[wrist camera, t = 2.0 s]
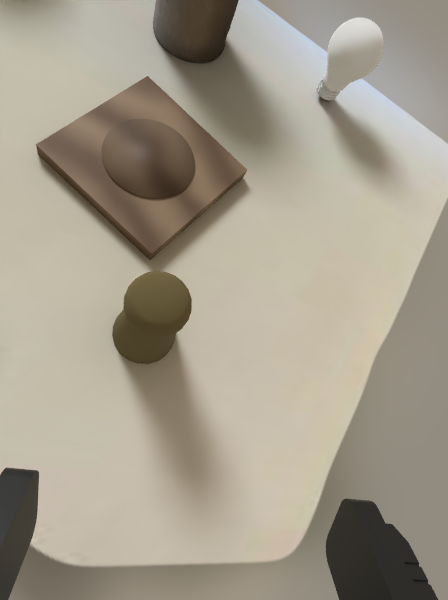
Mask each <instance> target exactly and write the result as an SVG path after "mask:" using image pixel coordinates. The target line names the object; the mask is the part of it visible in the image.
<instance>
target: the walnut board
mask: <svg viewBox="0 0 448 600" xmlns="http://www.w3.org/2000/svg"><path fill="white" fill-rule="evenodd" d="M36 146H37V152H38V154H39V155H40V156H41V157H42V158H43V159H44V160H45V161H46V162H47V163H48V164H49V165H50V166H51V167H52V168H53V169H54V170H55V171H57V172H58V173H59V174H60V175H61V176H62V177H63V178H64V179H65V180H66V181H67V182H68V183H69V184H70V185H71V186H72V187H74V188H75V189H76V190H77V191H78V192H79V193H80V194H81V195H82V196H83V197H84V198H85V199H86V200H87V201H88V202H89V203H90V204H92V205H93V206H94V207H95V208H96V209H97V210H98V211H99V212H100V213H101V214H102V215H103V216H104V217H105V218H106V219H107V220H108V221H110V222H111V223H112V224H113V225H114V226H115V227H116V228H117V229H118V230H119V231H120V232H121V233H122V234H123V235H124V236H125V237H127V238H128V239H129V240H130V241H131V242H132V243H133V244H134V245H135V246H136V247H137V248H138V249H139V250H140V251H141V252H142V253H143V254H145V255H146V256H147V257H148V258H149V259H151V258H153V257H154V256H155V255H156V254H157V253H158V252H159V251H160V250H162V249H163V248H164V247H165V246H166V245H167V244H168V243H169V242H171V241H172V240H173V239H174V238H175V237H176V236H177V235H179V234H180V233H181V232H182V231H183V230H184V229H185V228H186V227H188V226H189V225H190V224H191V223H192V222H193V221H194V220H195V219H197V218H198V217H199V216H200V215H201V214H202V213H203V212H205V211H206V210H207V209H208V208H209V207H210V206H211V205H212V204H214V203H215V202H216V201H217V200H218V199H219V198H220V197H221V196H223V195H224V194H225V193H226V192H227V191H228V190H229V189H231V188H232V187H233V186H234V185H235V184H236V183H237V182H238V181H240V180H241V179H242V178H243V177H244V175H245V173H246V171H247V169H246V168H245V167H244V166H242V165H241V164H240V163H239V162H238V161H237V160H236V159H235V158H234V157H233V156H232V155H231V154H230V153H229V152H228V151H227V150H226V149H224V148H223V147H222V146H221V145H220V144H219V143H218V142H217V141H216V140H215V139H214V138H213V137H212V136H211V135H210V134H209V133H207V132H206V131H205V130H204V129H203V128H202V127H201V126H200V125H199V124H198V123H197V122H196V121H195V120H194V119H193V118H192V117H190V116H189V115H188V114H187V113H186V112H185V111H184V110H183V109H182V108H181V107H180V106H179V105H178V104H177V103H176V102H175V101H174V100H172V99H171V98H170V97H169V96H168V95H167V94H166V93H165V92H164V91H163V90H162V89H161V88H160V87H159V86H158V85H157V84H155V83H154V82H153V81H152V80H151V79H150V78H149V77H148V76H147V77H145V78H144V79H142V80H140V81H139V82H137V83H136V84H134V85H132V86H131V87H129V88H127V89H126V90H124V91H123V92H121V93H119V94H118V95H116V96H114V97H113V98H111V99H110V100H108V101H106V102H105V103H103V104H101V105H100V106H98V107H96V108H95V109H93V110H92V111H90V112H88V113H87V114H85V115H83V116H82V117H80V118H79V119H77V120H75V121H74V122H72V123H70V124H69V125H67V126H66V127H64V128H62V129H61V130H59V131H57V132H56V133H54V134H52V135H51V136H49V137H48V138H46V139H44V140H43V141H41V142H39V143H38V144H36Z"/></svg>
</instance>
